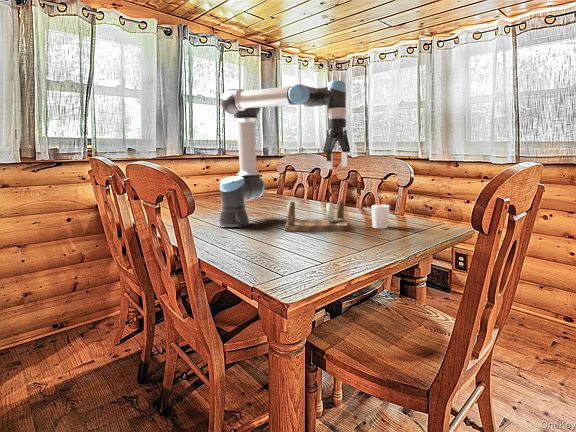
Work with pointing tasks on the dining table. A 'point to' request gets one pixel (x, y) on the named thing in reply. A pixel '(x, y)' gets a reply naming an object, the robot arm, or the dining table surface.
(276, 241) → the dining table surface
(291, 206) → the wooden peg stand
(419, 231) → the dining table surface
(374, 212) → the white cup
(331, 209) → the hinged leg
